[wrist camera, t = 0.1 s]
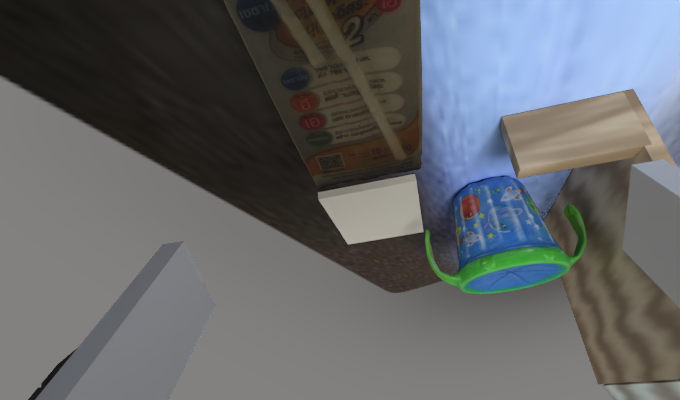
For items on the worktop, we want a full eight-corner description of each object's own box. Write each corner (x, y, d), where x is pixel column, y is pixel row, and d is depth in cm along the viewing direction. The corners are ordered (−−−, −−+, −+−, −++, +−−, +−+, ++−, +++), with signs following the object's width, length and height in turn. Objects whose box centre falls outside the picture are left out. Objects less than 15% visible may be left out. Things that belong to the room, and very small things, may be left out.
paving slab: (317, 192, 41) (318, 199, 40) (414, 173, 39) (416, 180, 38) (347, 238, 53) (348, 244, 52) (422, 226, 51) (423, 231, 51)
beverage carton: (396, -269, 13) (434, -181, 10) (411, 104, 30) (427, 178, 27) (175, -200, 14) (151, -101, 11) (310, 123, 31) (314, 197, 28)
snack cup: (579, 154, 38) (622, 253, 34) (543, 202, 48) (573, 284, 43) (418, 177, 40) (438, 275, 35) (414, 219, 49) (430, 301, 44)
